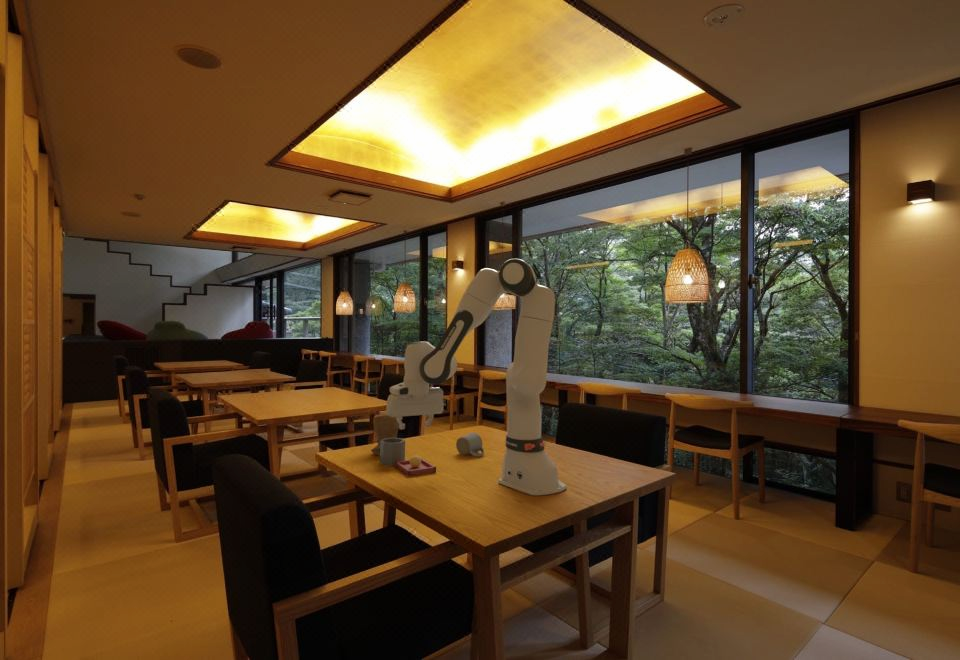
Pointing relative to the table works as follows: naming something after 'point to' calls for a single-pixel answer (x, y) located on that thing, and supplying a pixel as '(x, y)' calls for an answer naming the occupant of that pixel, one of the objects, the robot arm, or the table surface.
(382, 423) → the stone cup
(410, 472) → the lacquer tray
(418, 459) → the ball
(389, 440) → the deep cup
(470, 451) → the ceramic mug
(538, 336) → the robot arm
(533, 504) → the table surface
